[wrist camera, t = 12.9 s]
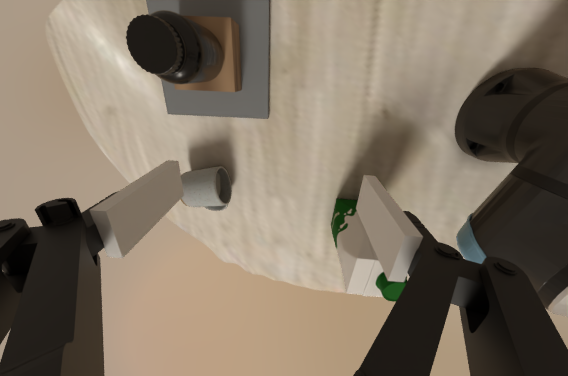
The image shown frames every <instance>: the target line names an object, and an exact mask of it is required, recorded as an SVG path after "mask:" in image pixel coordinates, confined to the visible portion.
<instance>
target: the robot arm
mask: <svg viewBox="0 0 568 376" xmlns="http://www.w3.org/2000/svg"><path fill="white" fill-rule="evenodd" d="M455 137H456V141H457V143H458V145H459V147H460V148H461V149H462V150H463V151H464V152H465V153H467V154H468V155H471V156H473V157H475V158H477V159H480V160H484V161H490V162H509V163H518V165H517V166H516V167H515V168H514V169H513V170H512V171H511V173H510V174H509V175H508V176H507V177H506V178H505V179H504V180H503V181H502V182H501V183H500V184H499V186H498V187H497V188H496V189H495V190H494V191H493V192H492V193H491V194H490V195H489V196H488V197H487V199H486V200H485V201H484V202H483V203H482V204H481V205H480V206H479V207H478V208H477V209H476V211H475V212H474V213H472V214H470V215H469V217H468V219H467V221H466V223H465V224H464V225H463V226H462V228H461V229H460V230H459V232H458V233H457V237H456V238H457V245H458V248H459V250H460V252H461V253H462V255H463V256H464V258H465V259H466V260H465V259H463V256H462V255H461V254H460V252H458V251H457V250H456V249H454V248H453V247H451V246H449V245H446V244H443V243H439V242H437V240H436V239H435V238H434V237H433V236H432V234H431V233H430V232H429V231H428V230H427V229H426V228H425V226H424V225H423V224H421V222H420V220H419V219H418V218H417V217H416V216H415V215H413V214H412V213H410V212H409V211H402V209H401V208H400V207H399V206H398V204H397V203H396V202H395V201H394V199H393V198H392V197H391V196H390V194H389V193H388V192H387V190H386V189H385V188H384V187H383V185H382V184H381V183H380V182H379V180H378V179H377V178H376V176H372V175H364V176H363V181H362V185H361V189H360V193H359V198H358V202H357V206H356V210H357V212H358V215H359V217H360V219H361V221H362V224H363V226H364V228H365V230H366V233H367V235H368V237H369V239H370V242H371V244H372V246H373V248H374V251H375V253H376V255H377V257H378V260H379V262H380V264H381V266H382V269H383V271H384V273H385V275H386V278H387V280H388V281H395V282H404V281H405V278H406V276H407V274H409V276H410V278H409V280H408V281H407V283H406V285H405V287H404V289H403V290H402V292H401V294H400V296H399V298H398V299H397V301H396V303H395V305H394V307H393V309H392V310H391V312H390V314H389V316H388V318H387V319H386V321H385V323H384V325H383V327H382V328H381V330H380V332H379V334H378V336H377V337H376V339H375V341H374V343H373V345H372V347H371V348H370V350H369V352H368V354H367V355H366V357H365V359H364V361H363V363H362V365H361V367H360V368H359V369H358V370H357V371H356V372H355V374H354V375H353V376H430V372H431V369H432V365H433V362H434V358H435V355H436V352H437V348H438V345H439V341H440V338H441V334H442V331H443V328H444V324H445V321H446V317H447V314H448V311H449V307H450V304H454V305H457V306H459V308H460V315H461V321H462V326H463V333H464V339H465V345H466V351H467V357H468V364H469V370H470V376H568V349H567V347H566V345H565V344H564V342H563V340H562V338H561V336H560V334H559V333H558V331H557V329H556V327H555V325H554V324H553V322H552V320H551V318H550V316H549V315H548V313H547V311H546V309H548V310H549V311H550V312H552V313H554V314H557V315H562V316H568V78H565V77H563V76H560V75H558V74H556V73H553V72H551V71H548V70H545V69H540V68H518V69H512V70H508V71H505V72H502V73H499V74H497V75H495V76H493V77H492V78H490V79H488V80H487V81H485V82H484V83H483V84H481V85H480V86H479V87H478V88H477V89H476V90H475V91H474V92H473V93H472V94H471V95H470V96H469V97H468V99H467V100H466V101H465V103H464V104H463V106H462V108H461V110H460V112H459V114H458V117H457V120H456V125H455ZM183 196H184V193H183V187H182V181H181V174H180V168H179V162H178V161H169V160H168V161H166V162H164V163H163V164H161V165H160V166H158V167H156V168H155V169H153V170H152V171H150V172H149V173H147V174H145V175H144V176H142V177H141V178H139V179H138V180H136V181H134V182H133V183H131V184H130V185H128V186H126V187H125V188H123V189H122V190H120V191H118V192H115V193H113V194H111V195H110V196H108V197H106V198H105V199H103V200H101V201H100V202H99V203H97V204H95V205H94V206H92V207H90V208H89V209H87V210H86V211H84V212H82V213H81V212H80V210H79V207H78V205H77V202H76V200H75V199H73V198H61V199H55V200H52V201H49V202H46V203H43V204H41V205H39V206H37V208H36V209H35V211H36V213H37V215H38V217H39V219H40V221H41V223H42V225H43V226H39V227H30V228H29V227H28V225H27V223H26V221H25V220H24V219H19V218H18V219H9V220H2V221H0V344H1V343H2V341H3V339H4V338H5V336H6V335H7V333H8V332H9V330H10V328H11V330H10V333H9V336H8V340H7V343H6V346H5V349H4V352H3V355H2V359H1V362H0V376H104V352H103V327H102V326H103V324H102V296H101V268H100V257H99V255H98V252H99V251H101V250H102V249H103V248H105V251H106V253H107V256H108V257H116V258H123V257H124V256H125V255H126V254H127V253H128V252H129V251H130V250H131V249H132V248H133V247H134V246H135V245H136V244H137V243H138V242H139V241H140V240H141V239H142V238H143V237H144V236H145V235H146V234H147V233H148V232H149V231H150V230H151V228H153V226H154V225H155V224H156V223H157V222H158V221H159V220H160V219H161V218H162V217H163V216H164V215H165V214H166V213H167V212H168V211H169V210H170V209H171V208H172V207H173V206H174V205H175V204H176V203H177V202H178V201H179V200H180V199H181V198H182V197H183ZM2 270H3V271H4V272H3V271H2ZM545 308H546V309H545Z"/></svg>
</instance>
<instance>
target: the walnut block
mask: <svg viewBox="0 0 568 376" xmlns="http://www.w3.org/2000/svg"><path fill="white" fill-rule="evenodd" d="M184 17H186V18H188V19H190V20H192V21H194V22H196V23H198V24H200V25H202V26H204V27H205V28H207V29H209V30H210V31H211V32H212V33H213V34H214V35H215V36H216V37H217V39H218V40H219V42H220V44H221V47H222V50H223V56H224V61H223V67H222V69H221V72H220V73H219V75H218V76H217V77H216V78H214V79H213V80H211V81H208V82H201V83H191V84H174V86H175V89H176V90H198V91H220V92H237V91H241V90H242V85H241V62H240V39H239V25H238V24H237V23H236V22H235V21H234V20H233V19H232V18H230V17H206V16H184Z"/></svg>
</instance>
